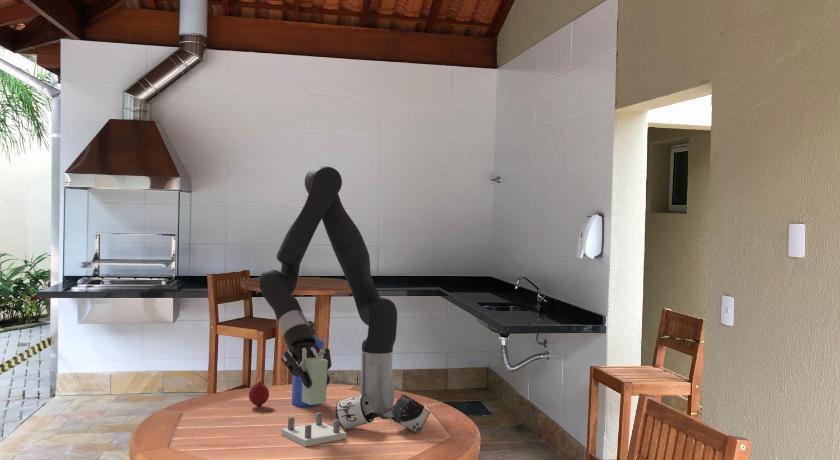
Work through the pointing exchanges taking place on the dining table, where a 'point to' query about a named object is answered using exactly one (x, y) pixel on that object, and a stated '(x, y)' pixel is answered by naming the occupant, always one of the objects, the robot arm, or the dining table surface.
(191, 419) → the dining table surface
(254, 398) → the onion
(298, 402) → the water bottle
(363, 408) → the lettered night shade jar
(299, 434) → the peg stand
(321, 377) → the block
